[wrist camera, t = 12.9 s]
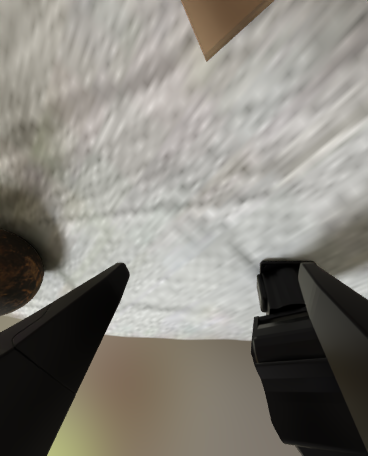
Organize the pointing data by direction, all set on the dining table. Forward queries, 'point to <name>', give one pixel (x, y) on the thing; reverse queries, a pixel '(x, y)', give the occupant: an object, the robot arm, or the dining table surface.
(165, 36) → the dining table surface
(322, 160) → the dining table surface
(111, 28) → the dining table surface
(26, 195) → the dining table surface
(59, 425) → the robot arm
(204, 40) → the housing board
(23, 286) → the glass bottle
